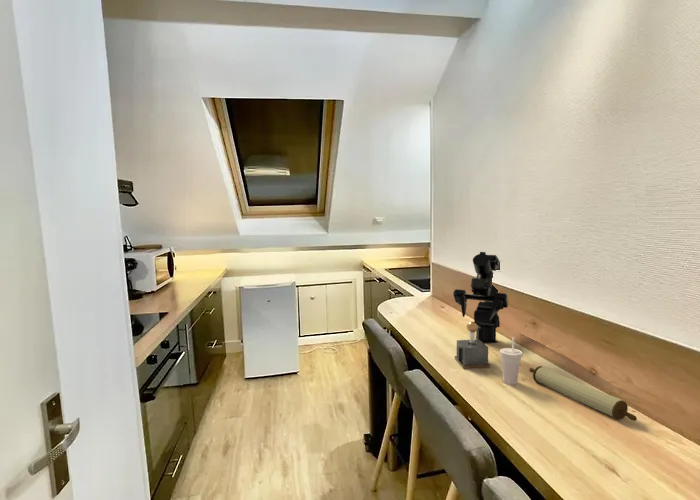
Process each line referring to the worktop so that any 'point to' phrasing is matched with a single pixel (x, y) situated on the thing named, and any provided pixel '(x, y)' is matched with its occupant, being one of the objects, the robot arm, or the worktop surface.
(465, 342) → the copper ball lever box
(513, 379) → the smoothie
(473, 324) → the copper ball knob
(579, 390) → the rolling pin
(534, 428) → the worktop surface
